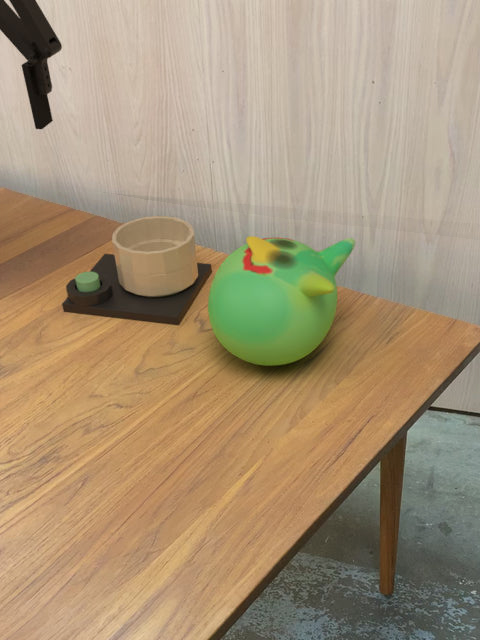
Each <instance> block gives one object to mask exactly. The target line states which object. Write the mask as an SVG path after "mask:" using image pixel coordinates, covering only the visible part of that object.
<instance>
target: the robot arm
mask: <svg viewBox="0 0 480 640" xmlns="http://www.w3.org/2000/svg"><path fill="white" fill-rule="evenodd" d="M8 2H9V3H10V4H11V6H12V7H13V9H14V10H13V9H12V7H11V6H10V5H9V4H8V3H7V2H6V1H5V0H0V32H1V33H2V34H4V36H5V37H6V38H7V39H8V41H9V42H10V43H11V44H12V45H13V46H14V48H16V49H17V50H18V52H19V53H20V54H21V55H22V56H23V57H24V58H25V59H26V60H27V61H25V62H24V63H22V64H21V69H22V74H23V78H24V83H25V87H26V92H27V97H28V101H29V106H30V110H31V115H32V118H33V123H34V128H35V130H43V129H44V128H46V127H47V126H48V125H50V124H51V123H52V122H53V116H52V110H51V105H50V100H49V96H48V95H49V94H50V93H51V92H52V91H53V90H52V89H53V84H52V83H53V82H52V78H51V74H50V69H49V64H48V63H49V62H48V59H50V58H52V57H53V56H54V55H56V54H58V53H59V52H61V50H62V48H63V46H62V42H61V41H60V39H59V37H58V36H57V34H56V32H55V30H54V29H53V27H52V25H51V24H50V23H49V21H48V19H47V17H46V15H45V14H44V12H43V10H42V8H41V6H40V5H39V3H38V2H37V0H8Z"/></svg>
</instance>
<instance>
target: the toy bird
mask: <svg viewBox="0 0 480 640" xmlns="http://www.w3.org/2000/svg"><path fill="white" fill-rule="evenodd" d="M245 241H246V243H245V244H242V245H240V246H239V247H238V248H236V249H235V250H233V251H232V252H231V253H230V254H229V255H228V256H227V257H226V258H225V259H224V260H223V261H222V263H221V264H220V265H219V267H218V269H217V271H216V273H215V274H214V277H213V279H212V282H211V285H210V288H209V293H208V299H207V313H208V314H207V315H208V319H209V324H210V326H211V330H212V331H213V334H214V336H215V337H216V339H217V340H218V342H219V344H220V345H222V347H223V348H225V350H226V351H228V352H229V353H230V354H231V355H233V356H234V357H237V358H239V360H242V361H245V362H247V363H250V364H253V365H258V366H265V367H266V366H267V367H269V366H270V367H272V366H273V367H275V366H284V365H287V364H288V365H289V364H292V363H295V362H297V361H300V360H302V359H304V358H305V357H307V356H308V355H309V354H311V353H312V352H313V351H314V350H315V349H317V348H318V347H319V346H320V344H322V343H323V341H324V340H325V338H326V337H327V335H328V333H329V331H330V329H331V328H332V325H333V322H334V320H335V316H336V313H337V308H338V307H337V306H338V287H337V282H336V276H337V274H338V272H339V271H340V269H341V268H342V266H343V265H344V264H345V262H346V261H347V260H348V258H349V256H350V255H351V254H352V252H353V250H354V248H355V246H356V240H355V239H354V238H353V237H348V238H343V239H342V240H340V241H338V242H336V243H334V244H332V245H329V246H328V247H326V248H323V249H322V250H319V251H316V250H315V249H314V248H312V247H311V246H309V245H307V244H305V243H303V242H301V241H298V240H295V239H292V238H287V237H286V238H285V237H264V238H260V237H257V236H255V235H249V236H247V237H246V240H245Z"/></svg>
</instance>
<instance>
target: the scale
mask: <svg viewBox="0 0 480 640" xmlns="http://www.w3.org/2000/svg"><path fill="white" fill-rule="evenodd" d="M197 268H198V277H197V279H196V280H195V282H194V283H193V284H192V285H190V286H189V287H187V288H186V289H184V290H182V291H180V292H178V293H176V294H172V295H168V296H163V297H146V296H141V295H137V294H134V293H132V292H129V291H126V290H125V289H124V288H123V287H122V286H121V284H120V283H119V278H118V273H117V267H116V261H115V255H114V253H103V255H102V256H101V258H99V260H97V262H96V263H95V264H94V266H92V268H91V269H90V271H89V272H95V273H97V274H98V275H99V280H100V288H99V289H97V290H95V291H90V292H81V291H79V290H78V289H77V285H76V280H75V278H76V277H75V278H72V279H71V280H69V281H68V283H67V284H66V285H65V289H66V293H67V297H66V298H65V300H64V301H63V302H62V304H61V306H62V310H63V312H64V313H70V314H77V315H84V316H85V315H86V316H94V317H104V318H111V319H112V318H113V319H120V320H127V321H128V320H130V321H136V322H145V323H154V324H163V325H170V326H180V325H181V323H182V321H183V320H184V318H185V317H186V315H187V314H188V311H189V310H190V309H191V307H192V306H193V304H194V302H195V300H196V299H197V297H198V296H199V294H200V293H201V291H202V290H203V288H204V286H205V284H206V283H207V281H208V279H209V278H210V276H211V275H212V273H213V270H212V264H211V263H204V262H202V263H201V262H197Z"/></svg>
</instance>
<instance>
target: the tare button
mask: <svg viewBox="0 0 480 640" xmlns="http://www.w3.org/2000/svg"><path fill="white" fill-rule="evenodd" d="M75 280H76V285H77V289H78V290H79V291H81V292H90V291H95V290H97V289H99V288H100V280H99V275H98V274H97V273H95V272H90V271H84V272H79V273H78V274H77V275H76V276H75Z"/></svg>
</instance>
